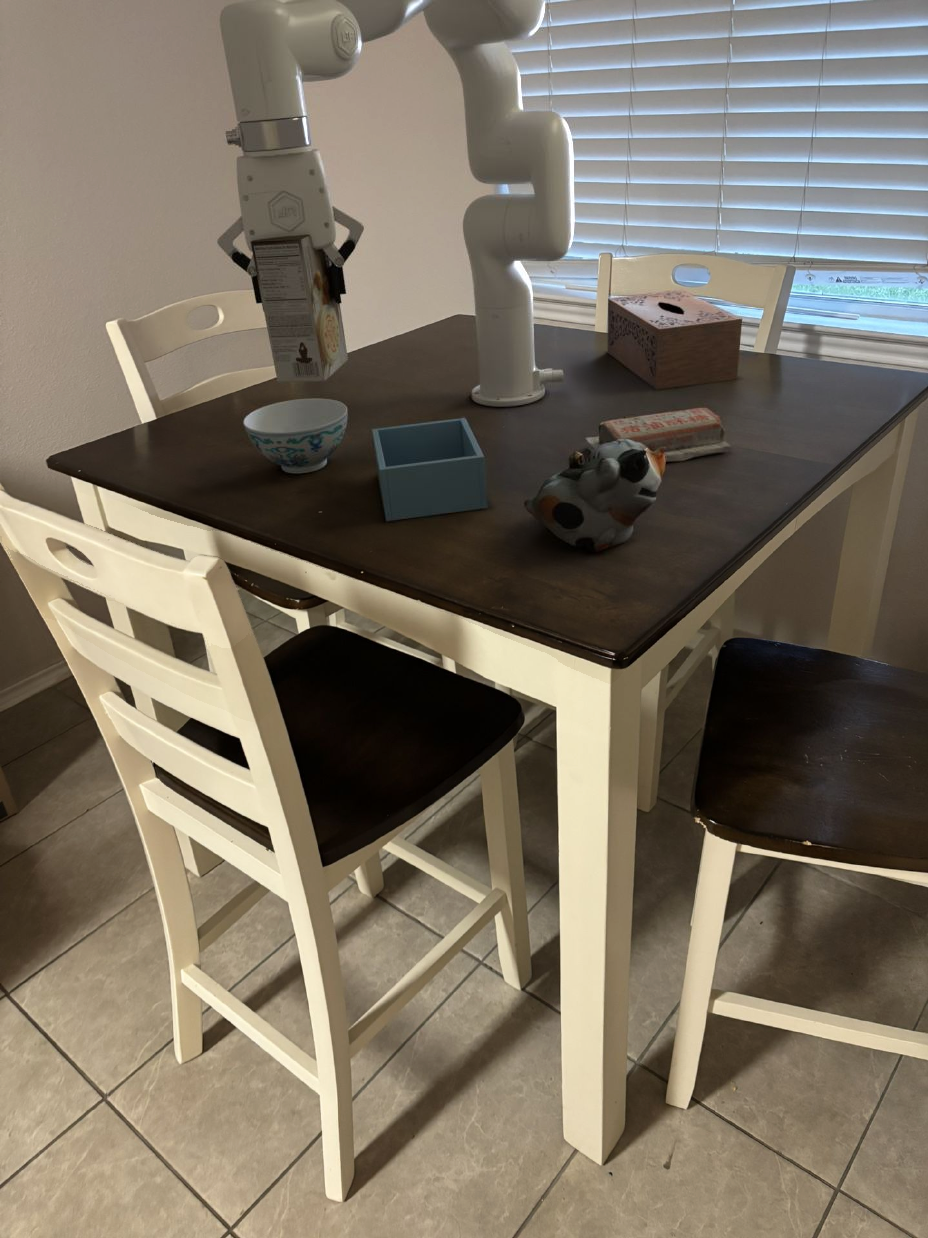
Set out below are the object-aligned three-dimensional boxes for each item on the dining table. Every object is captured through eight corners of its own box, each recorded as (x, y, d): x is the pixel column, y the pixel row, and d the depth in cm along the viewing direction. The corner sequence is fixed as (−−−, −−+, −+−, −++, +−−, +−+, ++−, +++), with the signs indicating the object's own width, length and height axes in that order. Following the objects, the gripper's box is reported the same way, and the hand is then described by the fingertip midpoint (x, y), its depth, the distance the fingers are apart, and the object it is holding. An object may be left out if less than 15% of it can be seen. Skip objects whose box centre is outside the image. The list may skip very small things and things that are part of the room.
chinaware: (310, 491, 124) (300, 437, 120) (232, 475, 131) (221, 425, 127) (374, 454, 135) (368, 404, 131) (299, 441, 142) (291, 394, 138)
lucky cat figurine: (572, 497, 115) (628, 403, 108) (641, 555, 110) (704, 461, 103) (503, 507, 104) (560, 402, 97) (576, 571, 99) (642, 467, 92)
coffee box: (302, 361, 115) (279, 226, 107) (349, 360, 114) (330, 223, 105) (275, 383, 107) (248, 239, 99) (326, 382, 106) (303, 236, 98)
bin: (468, 464, 128) (465, 417, 124) (487, 508, 115) (484, 456, 111) (377, 476, 127) (371, 428, 123) (386, 521, 114) (379, 469, 110)
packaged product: (702, 399, 130) (734, 420, 122) (700, 431, 133) (731, 454, 124) (584, 416, 128) (608, 439, 119) (584, 448, 130) (607, 473, 122)
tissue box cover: (607, 352, 173) (608, 298, 168) (678, 342, 174) (681, 289, 169) (656, 389, 151) (658, 329, 146) (737, 378, 153) (742, 318, 147)
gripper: (191, 147, 93) (226, 320, 102) (357, 132, 95) (377, 303, 104) (198, 144, 100) (231, 306, 109) (353, 129, 101) (373, 291, 110)
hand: (302, 304), depth 106 cm, fingers closed on coffee box, 8 cm apart
